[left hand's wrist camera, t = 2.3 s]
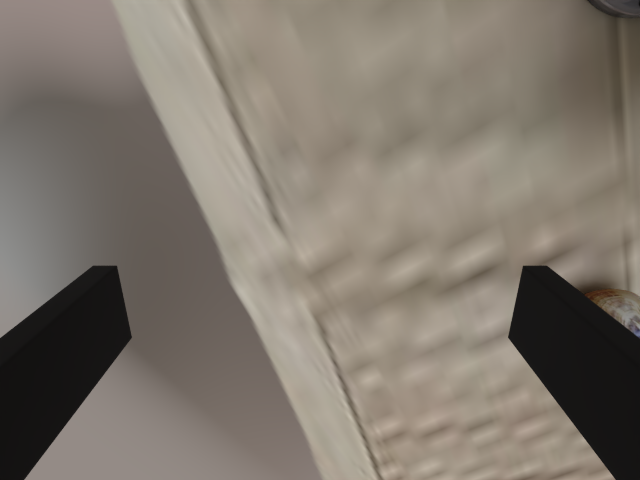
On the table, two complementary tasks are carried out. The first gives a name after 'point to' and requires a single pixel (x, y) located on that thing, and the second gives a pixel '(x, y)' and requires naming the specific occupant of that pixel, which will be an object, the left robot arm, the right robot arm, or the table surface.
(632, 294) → the seashell
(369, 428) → the table surface
